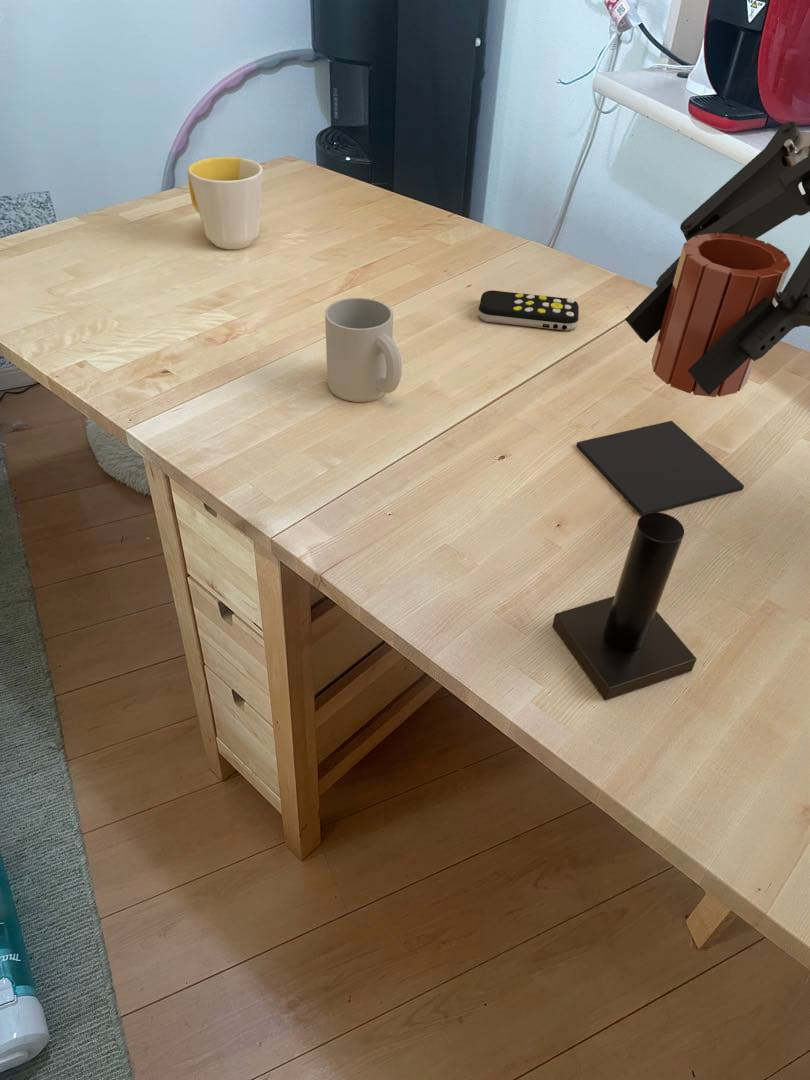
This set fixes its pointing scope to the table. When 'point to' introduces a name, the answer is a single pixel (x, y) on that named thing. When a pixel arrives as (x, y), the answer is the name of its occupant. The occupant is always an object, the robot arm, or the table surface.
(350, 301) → the cup
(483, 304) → the remote control
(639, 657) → the post stand
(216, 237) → the mug
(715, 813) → the table surface
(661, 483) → the mat
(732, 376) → the sleeve ring
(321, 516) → the table surface
